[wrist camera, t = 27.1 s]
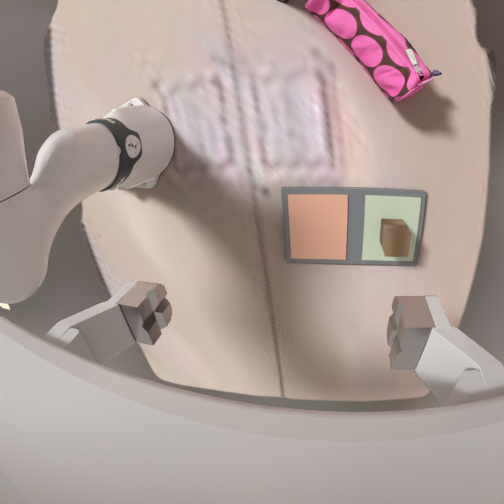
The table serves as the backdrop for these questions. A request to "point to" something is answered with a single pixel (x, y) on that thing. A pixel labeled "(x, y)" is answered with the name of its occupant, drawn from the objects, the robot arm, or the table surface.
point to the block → (395, 238)
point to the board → (348, 223)
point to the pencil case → (374, 46)
